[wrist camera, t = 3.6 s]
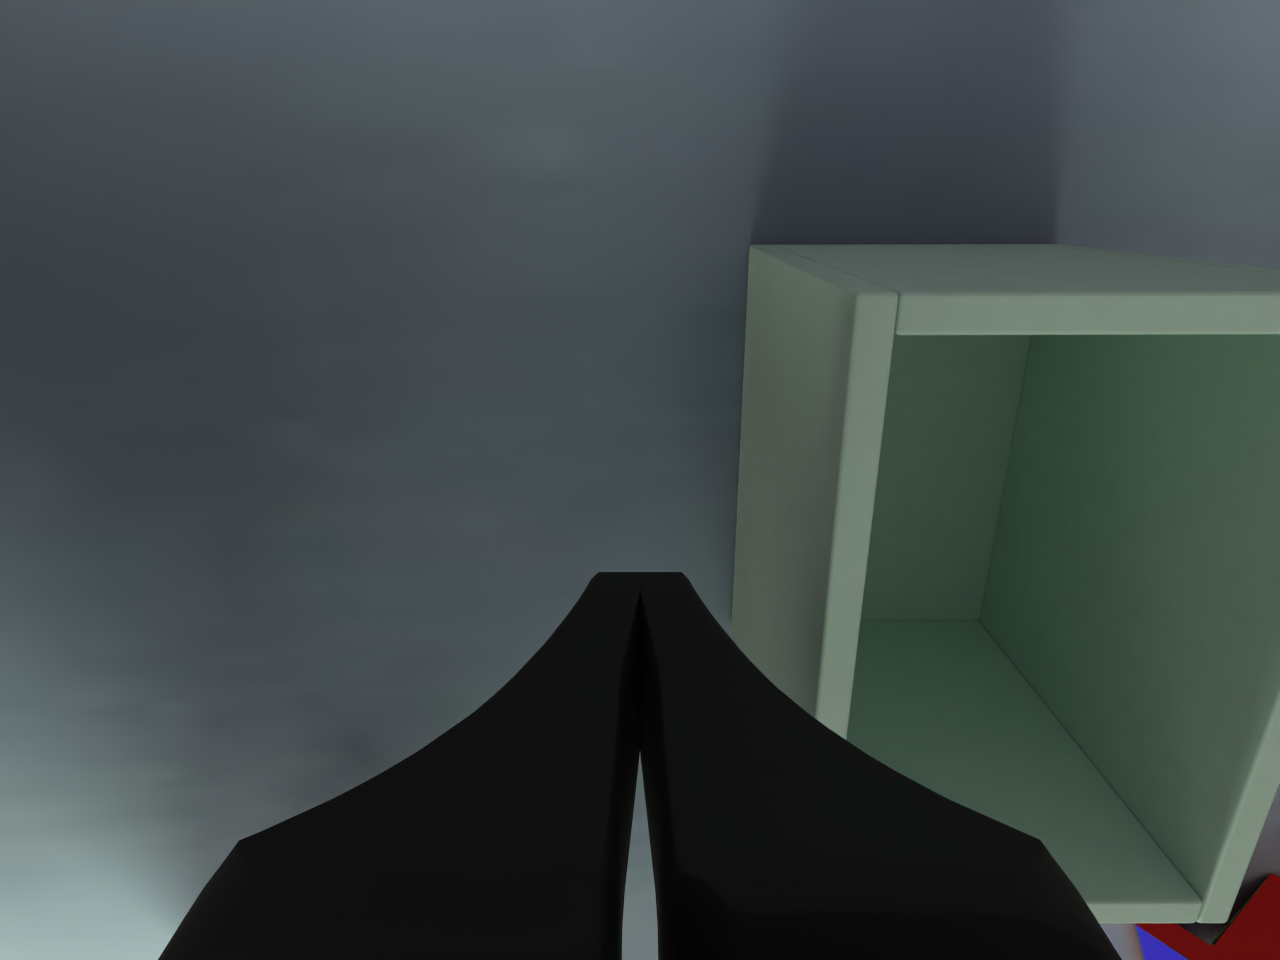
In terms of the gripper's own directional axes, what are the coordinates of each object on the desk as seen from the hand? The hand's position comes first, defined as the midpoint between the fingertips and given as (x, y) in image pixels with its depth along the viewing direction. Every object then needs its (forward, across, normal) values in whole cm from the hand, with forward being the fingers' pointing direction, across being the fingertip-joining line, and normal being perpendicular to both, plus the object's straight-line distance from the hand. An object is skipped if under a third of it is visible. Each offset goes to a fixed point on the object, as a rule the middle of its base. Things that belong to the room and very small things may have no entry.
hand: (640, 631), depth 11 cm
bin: (+8, +6, 0) cm, 10 cm away
